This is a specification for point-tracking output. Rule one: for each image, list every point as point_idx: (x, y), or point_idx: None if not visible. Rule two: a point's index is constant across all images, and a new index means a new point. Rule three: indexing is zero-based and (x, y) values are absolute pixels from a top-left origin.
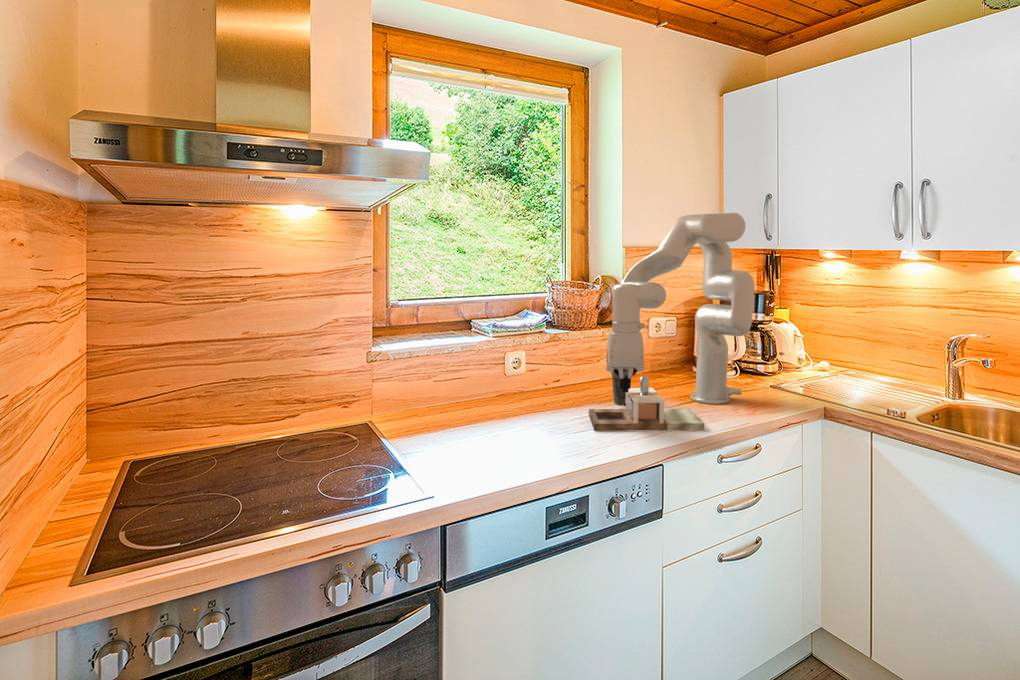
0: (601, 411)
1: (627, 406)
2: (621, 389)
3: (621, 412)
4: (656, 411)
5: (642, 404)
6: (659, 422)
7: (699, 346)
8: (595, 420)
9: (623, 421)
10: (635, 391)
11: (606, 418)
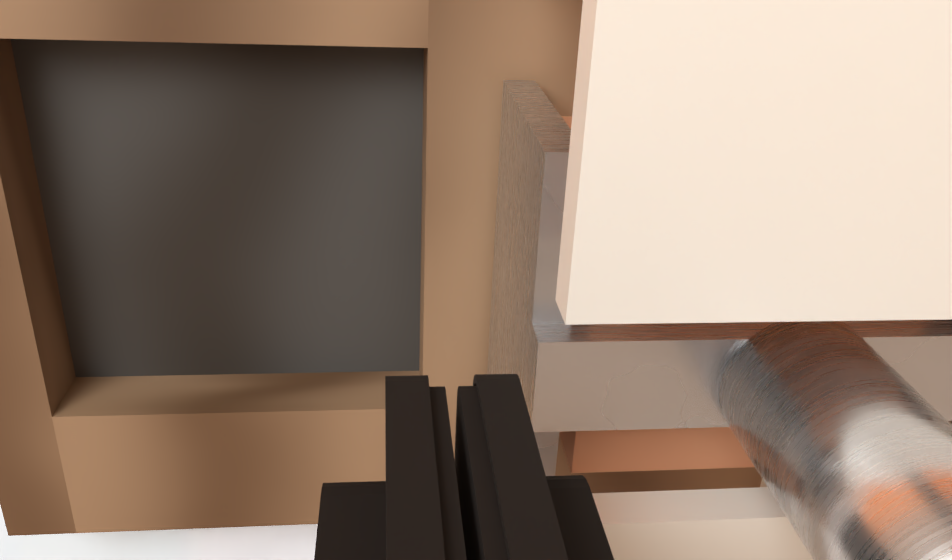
0: (83, 1)
1: (514, 112)
2: (385, 432)
3: (416, 44)
4: None
5: (689, 446)
6: (761, 486)
7: None
8: (14, 427)
9: (371, 455)
10: (732, 239)
11: (187, 86)
